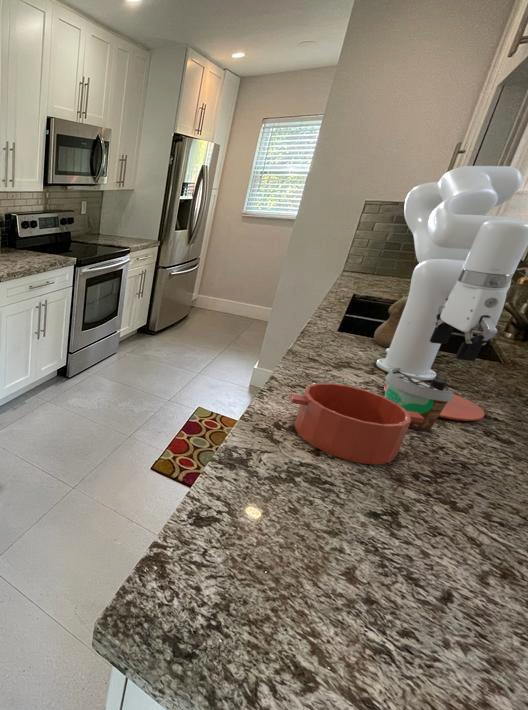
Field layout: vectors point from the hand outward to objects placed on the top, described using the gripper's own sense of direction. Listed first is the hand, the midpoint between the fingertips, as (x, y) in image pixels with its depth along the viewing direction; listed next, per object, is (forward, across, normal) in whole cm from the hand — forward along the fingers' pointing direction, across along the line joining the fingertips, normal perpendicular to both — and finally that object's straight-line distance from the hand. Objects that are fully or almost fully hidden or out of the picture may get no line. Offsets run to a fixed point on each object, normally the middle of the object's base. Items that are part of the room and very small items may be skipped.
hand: (450, 351), depth 95 cm
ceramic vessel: (+15, +39, -14) cm, 44 cm away
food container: (+13, -13, +12) cm, 22 cm away
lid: (+13, -1, 0) cm, 13 cm away
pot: (+12, -26, +27) cm, 40 cm away
